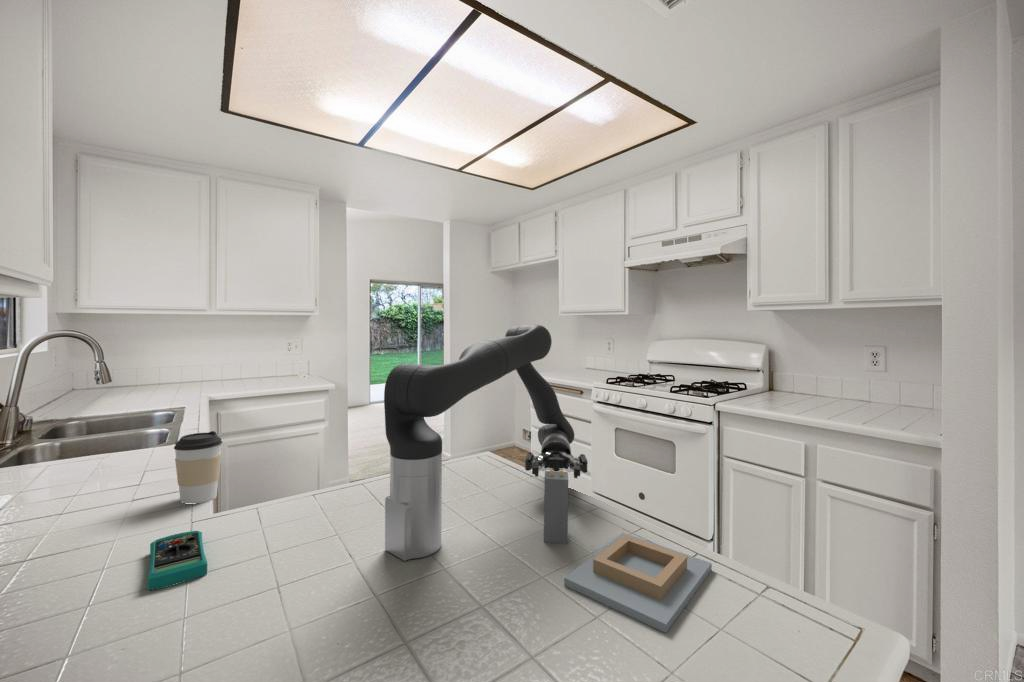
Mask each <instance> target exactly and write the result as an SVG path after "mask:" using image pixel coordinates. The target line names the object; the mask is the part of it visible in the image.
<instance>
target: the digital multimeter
mask: <svg viewBox="0 0 1024 682" xmlns="http://www.w3.org/2000/svg"><path fill="white" fill-rule="evenodd" d="M149 545H150V546H149V548H150V549H149V554H150V556H149V557H150V562H149V563H150V565H149V571H148V575H147V590H148V591H150V590H151V591H153V590H152V589H155V590H158V589H157V588H160V589H163V588H162V587H164V588H167V587H166V586H168V587H170V586H169V585H171V586H174V585H173V584H175V585H177V584H176V583H179V584H181V583H180V582H182V583H184V582H183V581H186V582H188V581H187V580H189V581H191V579H192V580H194V579H193V578H195V579H198V578H200V576H201V577H203V576H206V575H208V560H207V558H206V555H205V551H204V546H203V532H202V531H199V530H191V531H185V532H180V533H175V534H171V535H167V536H164V537H161V538H160V537H159V539H158V538H157V539H155V540H154V541H152V542H150V544H149ZM197 577H198V578H197Z"/></svg>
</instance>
